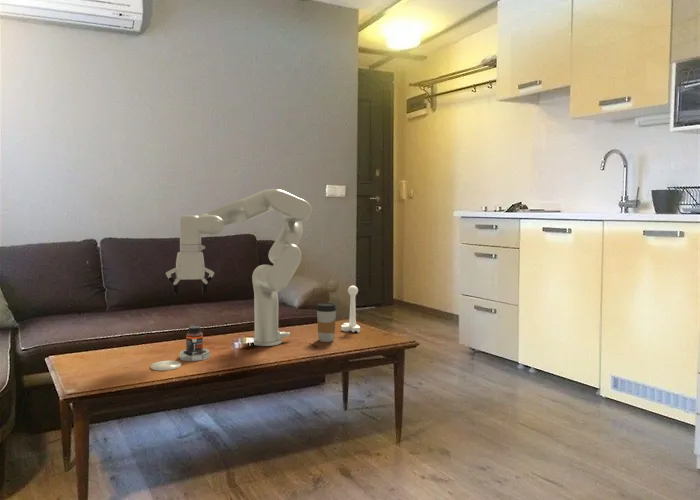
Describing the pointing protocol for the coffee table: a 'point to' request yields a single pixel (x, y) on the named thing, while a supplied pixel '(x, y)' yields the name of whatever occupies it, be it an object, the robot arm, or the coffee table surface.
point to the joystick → (352, 312)
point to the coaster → (165, 365)
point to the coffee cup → (326, 321)
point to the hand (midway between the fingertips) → (190, 294)
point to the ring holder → (195, 355)
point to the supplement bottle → (194, 340)
